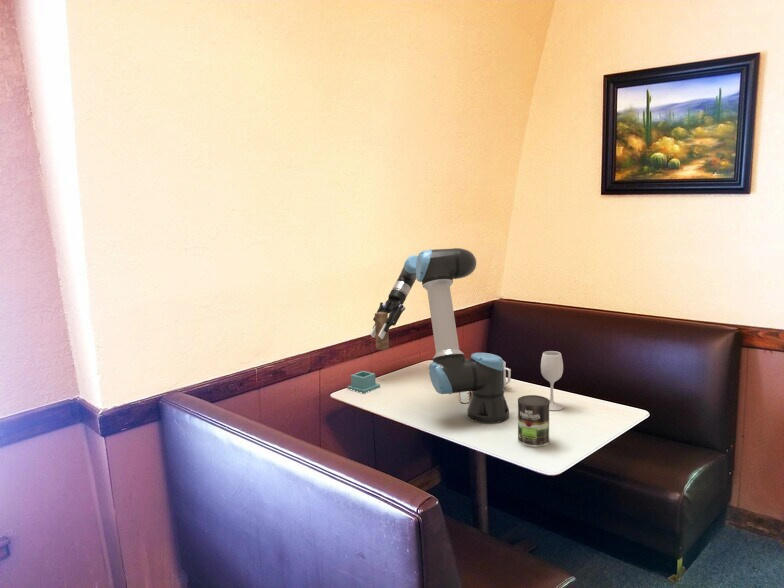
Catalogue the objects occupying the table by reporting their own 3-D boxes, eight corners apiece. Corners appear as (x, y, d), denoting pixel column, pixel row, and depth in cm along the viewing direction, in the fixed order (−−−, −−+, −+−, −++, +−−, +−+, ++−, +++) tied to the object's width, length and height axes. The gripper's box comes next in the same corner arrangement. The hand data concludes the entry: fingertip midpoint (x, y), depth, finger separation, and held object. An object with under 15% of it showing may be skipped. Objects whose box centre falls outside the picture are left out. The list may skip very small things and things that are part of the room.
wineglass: (539, 402, 234) (539, 350, 231) (562, 403, 232) (563, 350, 229) (540, 410, 226) (540, 356, 222) (564, 411, 224) (564, 356, 220)
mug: (480, 388, 253) (479, 363, 251) (492, 383, 259) (492, 358, 257) (503, 394, 245) (503, 368, 243) (516, 389, 251) (516, 363, 249)
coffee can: (544, 449, 192) (544, 407, 190) (513, 443, 198) (513, 402, 195) (553, 437, 201) (553, 397, 199) (523, 432, 206) (523, 393, 204)
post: (389, 348, 266) (387, 312, 263) (383, 350, 263) (381, 314, 260) (382, 347, 268) (380, 311, 266) (376, 349, 265) (374, 313, 263)
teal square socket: (380, 387, 260) (379, 373, 259) (364, 393, 253) (363, 379, 252) (363, 383, 267) (362, 369, 266) (347, 389, 260) (346, 375, 258)
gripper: (417, 299, 268) (395, 343, 259) (389, 296, 279) (366, 338, 270) (409, 289, 263) (386, 334, 254) (380, 287, 274) (357, 329, 265)
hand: (376, 336), depth 262 cm, fingers closed on post, 4 cm apart
